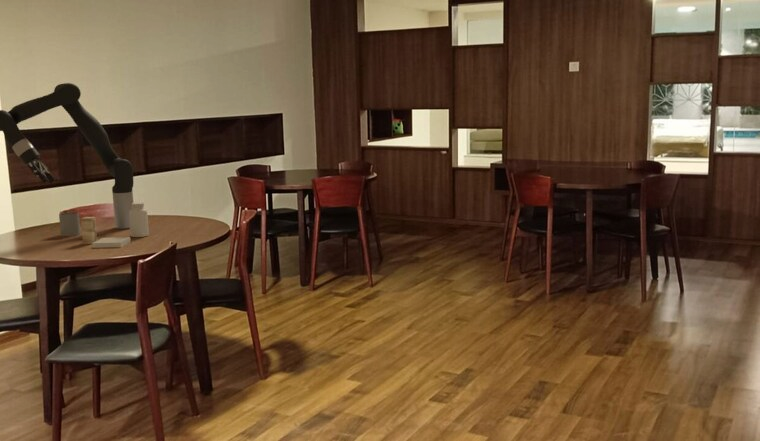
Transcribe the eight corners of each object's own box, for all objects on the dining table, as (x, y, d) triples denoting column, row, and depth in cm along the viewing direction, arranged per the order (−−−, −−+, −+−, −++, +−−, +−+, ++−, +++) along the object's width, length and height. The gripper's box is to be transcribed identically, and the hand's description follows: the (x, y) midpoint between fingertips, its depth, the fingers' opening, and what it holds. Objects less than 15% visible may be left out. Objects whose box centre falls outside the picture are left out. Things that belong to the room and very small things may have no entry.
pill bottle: (152, 234, 345) (150, 202, 343) (141, 238, 338) (139, 204, 335) (138, 234, 348) (135, 201, 345) (126, 237, 340) (124, 204, 338)
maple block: (87, 242, 332) (84, 217, 330) (97, 241, 332) (95, 216, 330) (83, 243, 327) (80, 218, 325) (93, 243, 327) (91, 218, 325)
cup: (73, 236, 346) (71, 215, 345) (57, 236, 348) (55, 214, 346) (84, 233, 354) (82, 212, 353) (68, 233, 356) (66, 212, 354)
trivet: (103, 242, 329) (102, 237, 329) (130, 241, 329) (130, 237, 329) (92, 247, 318) (92, 243, 317) (121, 247, 317) (120, 242, 317)
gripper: (27, 146, 318) (51, 177, 320) (39, 147, 332) (62, 177, 334) (12, 156, 318) (37, 187, 320) (25, 157, 332) (48, 187, 334)
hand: (50, 182), depth 327 cm, fingers open, 8 cm apart
